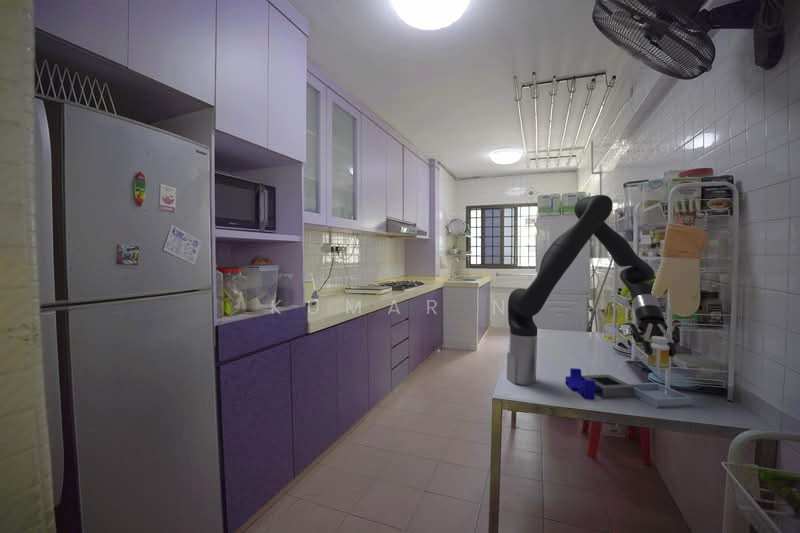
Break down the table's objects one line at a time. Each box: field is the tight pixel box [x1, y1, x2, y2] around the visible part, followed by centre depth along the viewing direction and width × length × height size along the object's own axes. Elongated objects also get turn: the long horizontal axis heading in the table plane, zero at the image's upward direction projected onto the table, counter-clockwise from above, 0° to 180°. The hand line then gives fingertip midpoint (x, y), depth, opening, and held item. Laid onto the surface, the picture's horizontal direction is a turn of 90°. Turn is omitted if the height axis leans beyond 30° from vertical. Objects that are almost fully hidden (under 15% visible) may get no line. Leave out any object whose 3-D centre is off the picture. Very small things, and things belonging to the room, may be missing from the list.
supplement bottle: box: [647, 336, 670, 371], centre depth 108 cm, size 5×5×10 cm
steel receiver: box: [581, 374, 635, 400], centre depth 113 cm, size 11×11×4 cm
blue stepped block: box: [565, 367, 596, 401], centre depth 113 cm, size 12×4×6 cm, turn 174°
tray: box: [628, 382, 693, 409], centre depth 108 cm, size 12×12×3 cm
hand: (661, 354), depth 106 cm, fingers closed on supplement bottle, 5 cm apart
